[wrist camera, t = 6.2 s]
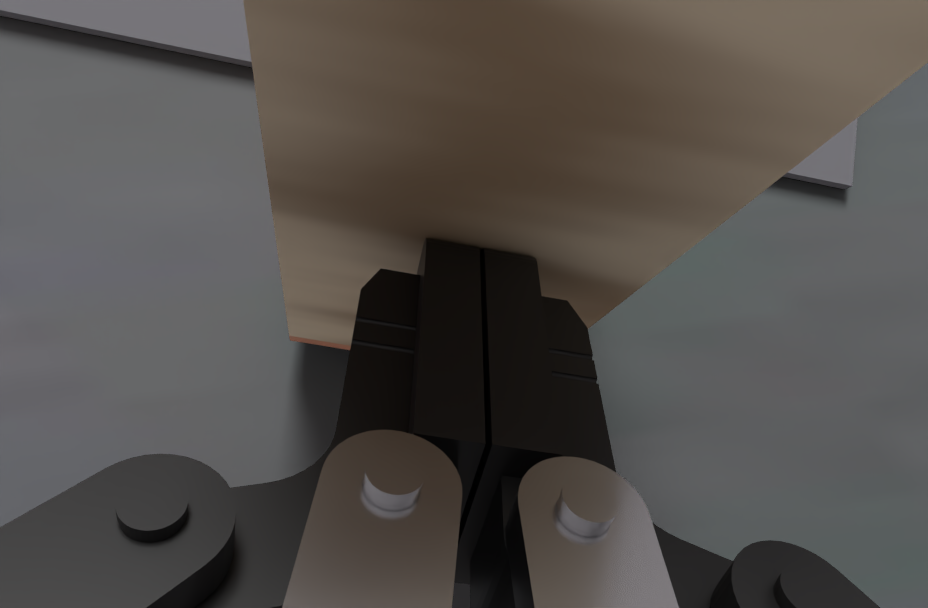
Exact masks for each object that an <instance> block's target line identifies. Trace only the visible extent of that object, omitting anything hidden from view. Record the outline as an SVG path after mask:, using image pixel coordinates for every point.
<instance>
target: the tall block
mask: <svg viewBox="0 0 928 608" xmlns="http://www.w3.org/2000/svg"><path fill="white" fill-rule="evenodd" d="M243 3H244V10H245V18H246V25H247V32H248V39H249V47H250V54H251V61H252V68H253V76H254V83H255V90H256V98H257V105H258V112H259V119H260V127H261V134H262V141H263V148H264V156H265V163H266V170H267V177H268V185H269V192H270V199H271V206H272V214H273V221H274V228H275V236H276V243H277V250H278V257H279V265H280V272H281V279H282V286H283V294H284V301H285V308H286V315H287V323H288V330H289V337H290V340H291V341H297V342H303V343H309V344H315V345H321V346H327V347H334V348H340V349H346V350H350V348H351V343H352V337H353V331H354V325H355V320H356V314H357V308H358V302H359V297H360V291H361V288H362V287H363V286H364V285H365V284H366V283H367V282H368V281H369V280H370V279H371V278H372V277H373V276H374V275H375V274H376V273H377V272H378V271H379V270H380V269H381V268H382V269H388V270H393V271H399V272H405V273H411V274H416V275H417V271H418V266H419V262H420V257H421V252H422V248H423V244H424V241H425V239H426V238H427V239H433V240H438V241H444V242H450V243H455V244H461V245H466V246H472V247H477V248H479V250H480V251H481V250H482V248H484V249H490V250H495V251H501V252H506V253H512V254H518V255H523V256H529V257H534V258H536V260H537V265H538V272H539V280H540V287H541V295H542V296H545V297H550V298H556V299H562V300H567V301H568V302H569V303H570V305H571V306H572V307H573V309H574V310H575V311H576V313H577V314H578V316H579V317H580V318H581V320H582V321H583V322H584V324H585V325H586V326H587V329H588V328H590V327H591V326H592V325H593V324H595V323H596V322H597V321H598V320H600V319H601V318H602V317H604V316H605V315H606V314H607V313H609V312H610V311H611V310H613V309H614V308H615V307H616V306H618V305H619V304H620V303H621V302H623V301H624V300H625V299H627V298H628V297H629V296H630V295H632V294H633V293H634V292H635V291H637V290H638V289H639V288H641V287H642V286H643V285H644V284H646V283H647V282H648V281H650V280H651V279H652V278H653V277H655V276H656V275H657V274H658V273H660V272H661V271H662V270H664V269H665V268H666V267H667V266H669V265H670V264H671V263H672V262H674V261H675V260H676V259H678V258H679V257H680V256H681V255H683V254H684V253H685V252H687V251H688V250H689V249H690V248H692V247H693V246H694V245H695V244H697V243H698V242H699V241H701V240H702V239H703V238H704V237H706V236H707V235H708V234H709V233H711V232H712V231H713V230H715V229H716V228H717V227H718V226H720V225H721V224H722V223H724V222H725V221H726V220H727V219H729V218H730V217H731V216H732V215H734V214H735V213H736V212H738V211H739V210H740V209H741V208H743V207H744V206H745V205H746V204H748V203H749V202H750V201H752V200H753V199H754V198H755V197H757V196H758V195H759V194H761V193H762V192H763V191H764V190H766V189H767V188H768V187H769V186H771V185H772V184H773V183H775V182H776V181H777V180H778V179H780V178H781V177H782V176H783V175H785V174H786V173H787V172H789V171H790V170H791V169H792V168H794V167H795V166H796V165H798V164H799V163H800V162H801V161H803V160H804V159H805V158H806V157H808V156H809V155H810V154H812V153H813V152H814V151H815V150H817V149H818V148H819V147H820V146H822V145H823V144H824V143H826V142H827V141H828V140H829V139H831V138H832V137H833V136H835V135H836V134H837V133H838V132H840V131H841V130H842V129H843V128H845V127H846V126H847V125H849V124H850V123H851V122H852V121H854V120H855V119H856V118H858V117H859V116H860V115H861V114H863V113H864V112H865V111H866V110H868V109H869V108H870V107H872V106H873V105H874V104H875V103H877V102H878V101H879V100H880V99H882V98H883V97H884V96H886V95H887V94H888V93H889V92H891V91H892V90H893V89H895V88H896V87H897V86H898V85H900V84H901V83H902V82H903V81H905V80H906V79H907V78H909V77H910V76H911V75H912V74H914V73H915V72H916V71H917V70H919V69H920V68H921V67H923V66H924V65H925V64H926V63H928V0H243Z"/></svg>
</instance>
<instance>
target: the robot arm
mask: <svg viewBox="0 0 928 608" xmlns="http://www.w3.org/2000/svg"><path fill="white" fill-rule="evenodd" d="M592 355H593V354H592V349H591V344H590V339H589V334H588V329H587V326H586V325H585V324H584V322H583V321H582V320H581V318H580V317H579V316H578V314H577V313H576V311H575V310H574V309H573V307H572V306H571V305H570V303H569V302H568V301H567V300H562V299H556V298H550V297H545V296H542V295H541V287H540V280H539V272H538V265H537V260H536V258H534V257H529V256H523V255H518V254H512V253H506V252H501V251H495V250H490V249H484V248H482V250H481V251H480V250H479V248H477V247H472V246H466V245H461V244H455V243H450V242H444V241H438V240H433V239H427V238H426V239H425V241H424V244H423V248H422V252H421V257H420V262H419V266H418V271H417V275H416V274H411V273H405V272H399V271H393V270H388V269H382V268H381V269H380V270H379V271H378V272H377V273H376V274H375V275H374V276H373V277H372V278H371V279H370V280H369V281H368V282H367V283H366V284H365V285H364V286H363V287H362V288H361V291H360V297H359V302H358V308H357V314H356V320H355V325H354V331H353V337H352V343H351V348H350V354H349V360H348V365H347V371H346V377H345V382H344V388H343V394H342V400H341V405H340V411H339V417H338V423H337V428H336V432H335V436H334V439H333V441H332V443H331V445H330V447H329V449H328V450H327V451H326V452H325V454H324V455H323V456H322V457H321V458H320V459H319V460H318V461H317V462H316V463H315V464H313V465H312V466H310V467H309V468H307V469H306V470H304V471H302V472H300V473H298V474H296V475H294V476H291V477H288V478H285V479H282V480H279V481H274V482H269V483H263V484H255V485H248V486H240V487H233V488H230V487H229V486H228V484H227V482H226V481H225V480H224V479H223V478H222V477H221V476H220V474H219V473H217V472H216V471H215V470H213V469H212V468H211V467H209V466H207V465H205V464H203V463H202V462H200V461H197V460H194V459H191V458H188V457H184V456H179V455H173V454H152V455H143V456H138V457H133V458H130V459H127V460H124V461H121V462H118V463H116V464H114V465H111V466H109V467H107V468H105V469H103V470H102V471H100V472H98V473H96V474H94V475H93V476H91V477H89V478H87V479H86V480H84V481H82V482H80V483H78V484H77V485H75V486H73V487H71V488H70V489H68V490H66V491H64V492H62V493H61V494H59V495H57V496H55V497H54V498H52V499H50V500H48V501H46V502H45V503H43V504H41V505H39V506H37V507H36V508H34V509H32V510H30V511H29V512H27V513H25V514H23V515H21V516H20V517H18V518H16V519H14V520H13V521H11V522H9V523H7V524H5V525H4V526H2V527H0V608H452V600H453V590H454V582H456V583H464V584H470V608H880V607H879V606H878V605H877V604H875V603H874V602H873V601H872V600H871V599H870V598H869V597H867V596H866V595H865V594H864V593H863V592H862V591H861V590H859V589H858V588H857V587H856V586H855V585H854V584H853V583H852V582H850V581H849V580H848V579H847V578H846V577H845V576H844V575H842V574H841V573H840V572H839V571H838V570H837V569H835V568H834V567H833V566H832V565H830V564H829V563H828V562H827V561H825V560H824V559H822V558H820V557H819V556H817V555H816V554H814V553H812V552H810V551H808V550H806V549H804V548H801V547H799V546H796V545H793V544H790V543H786V542H781V541H771V540H770V541H760V542H756V543H752V544H750V545H748V546H747V547H745V548H744V549H743V550H742V551H741V552H740V553H739V554H738V555H737V556H736V558H735V559H734V561H731V560H728V559H726V558H724V557H721V556H719V555H717V554H714V553H712V552H709V551H707V550H705V549H702V548H700V547H698V546H695V545H693V544H691V543H688V542H686V541H683V540H681V539H679V538H677V537H675V536H673V535H671V534H669V533H667V532H666V531H664V530H662V529H661V528H659V527H657V526H656V525H655V524H654V523H652V520H651V517H650V514H649V512H648V509H647V507H646V504H645V503H644V501H643V499H642V498H641V496H640V495H639V494H638V492H637V491H636V490H635V489H634V487H633V486H632V485H631V484H629V483H628V482H627V481H626V480H625V479H624V478H623V477H621V476H620V475H619V474H617V473H616V470H615V465H614V460H613V455H612V450H611V445H610V440H609V435H608V430H607V425H606V420H605V415H604V410H603V405H602V400H601V395H600V390H599V385H598V384H596V381H597V375H596V370H595V365H594V361H593V360H592Z"/></svg>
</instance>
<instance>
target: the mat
mask: <svg viewBox="0 0 928 608" xmlns="http://www.w3.org/2000/svg"><path fill="white" fill-rule="evenodd" d="M0 16H5V17H10V18H14V19H19V20H24V21H29V22H34V23H39V24H44V25H48V26H53V27H58V28H63V29H68V30H73V31H78V32H82V33H87V34H92V35H97V36H102V37H107V38H112V39H116V40H121V41H126V42H131V43H136V44H141V45H146V46H150V47H155V48H160V49H165V50H170V51H175V52H180V53H184V54H189V55H194V56H199V57H204V58H209V59H214V60H219V61H223V62H228V63H233V64H238V65H243V66H248V67H252V61H251V54H250V47H249V39H248V32H247V25H246V18H245V10H244V3H243V0H0ZM857 120H858V118H856V119H855V120H854V121H852V122H851V123H850V124H849V125H847V126H846V127H845V128H843V129H842V130H841V131H840V132H838V133H837V134H836V135H835V136H833V137H832V138H831V139H829V140H828V141H827V142H826V143H824V144H823V145H822V146H820V147H819V148H818V149H817V150H815V151H814V152H813V153H812V154H810V155H809V156H808V157H806V158H805V159H804V160H803V161H801V162H800V163H799V164H798V165H796V166H795V167H794V168H792V169H791V170H790V171H789V172H787V173H786V174H785V175H783V176H782V177H787V178H792V179H797V180H802V181H807V182H811V183H816V184H821V185H826V186H831V187H836V188H841V189H847V188H849V187H851V186H852V183H853V171H854V158H855V145H856V133H857Z"/></svg>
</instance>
